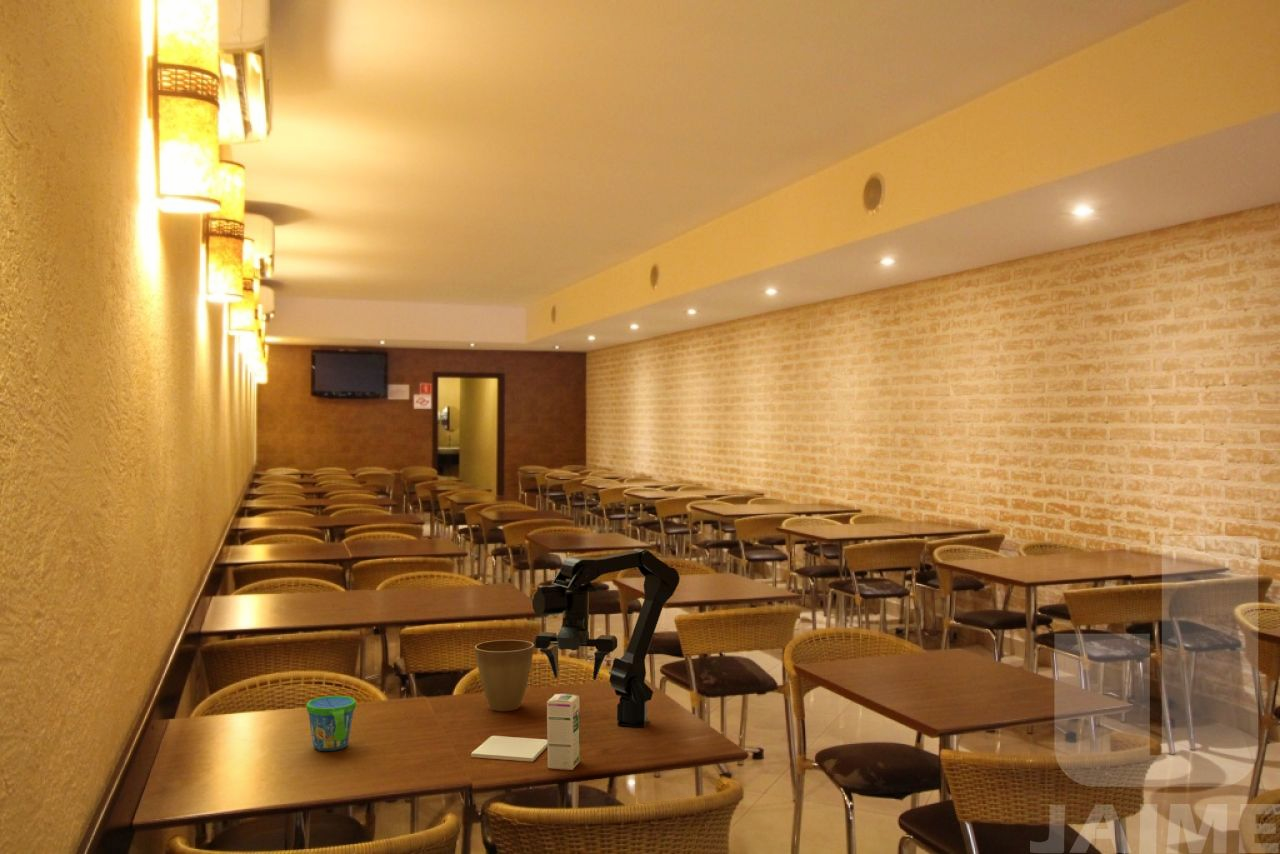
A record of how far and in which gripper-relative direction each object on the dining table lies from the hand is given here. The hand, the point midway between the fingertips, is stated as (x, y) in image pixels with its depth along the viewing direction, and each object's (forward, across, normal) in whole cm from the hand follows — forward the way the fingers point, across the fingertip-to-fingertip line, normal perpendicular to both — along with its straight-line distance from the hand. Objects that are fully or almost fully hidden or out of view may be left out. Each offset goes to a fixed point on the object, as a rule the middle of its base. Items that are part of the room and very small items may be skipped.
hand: (575, 678), depth 241 cm
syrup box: (+13, +3, -21) cm, 25 cm away
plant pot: (+13, -24, +18) cm, 33 cm away
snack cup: (+14, -51, -20) cm, 57 cm away
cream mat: (+13, -11, -14) cm, 22 cm away
